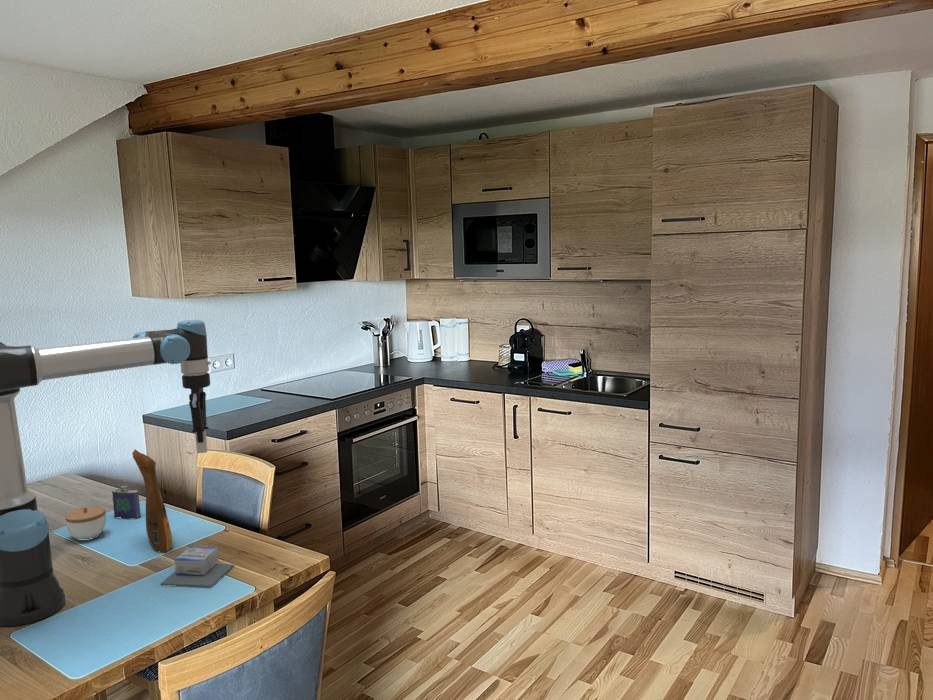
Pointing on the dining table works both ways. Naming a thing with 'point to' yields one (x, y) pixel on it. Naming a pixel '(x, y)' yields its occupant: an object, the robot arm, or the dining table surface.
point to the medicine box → (196, 561)
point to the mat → (199, 577)
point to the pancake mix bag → (154, 505)
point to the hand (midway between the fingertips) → (202, 452)
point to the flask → (126, 503)
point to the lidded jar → (86, 522)
